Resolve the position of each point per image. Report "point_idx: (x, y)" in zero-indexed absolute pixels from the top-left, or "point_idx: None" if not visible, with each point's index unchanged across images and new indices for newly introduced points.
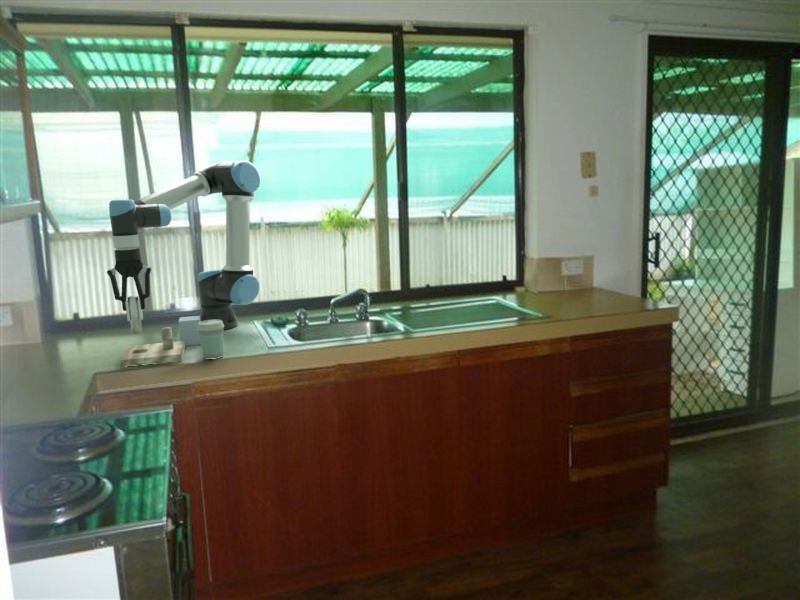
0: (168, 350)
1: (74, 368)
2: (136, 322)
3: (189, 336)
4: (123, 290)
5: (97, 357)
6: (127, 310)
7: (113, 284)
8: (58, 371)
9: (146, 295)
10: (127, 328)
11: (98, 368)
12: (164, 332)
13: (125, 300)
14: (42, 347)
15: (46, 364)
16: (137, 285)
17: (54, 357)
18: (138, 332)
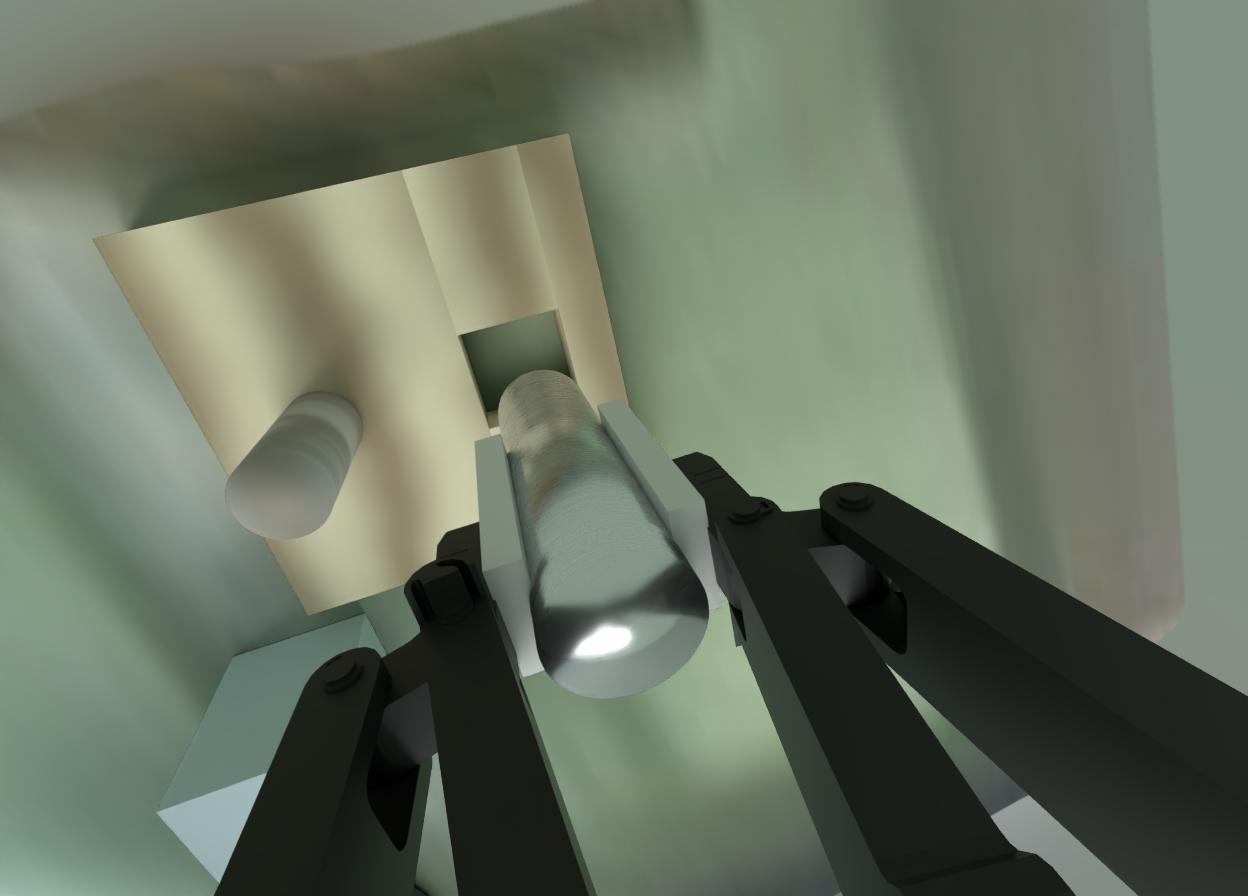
0: (290, 368)
1: (856, 194)
2: (531, 411)
3: (292, 673)
4: (814, 626)
5: (792, 412)
6: (644, 446)
7: (1137, 668)
8: (927, 143)
9: (346, 671)
10: (797, 853)
11: (714, 162)
12: (283, 440)
13: (714, 532)
14: (1066, 588)
15: (1010, 308)
16: (520, 837)
17: (996, 432)
18: (514, 384)
